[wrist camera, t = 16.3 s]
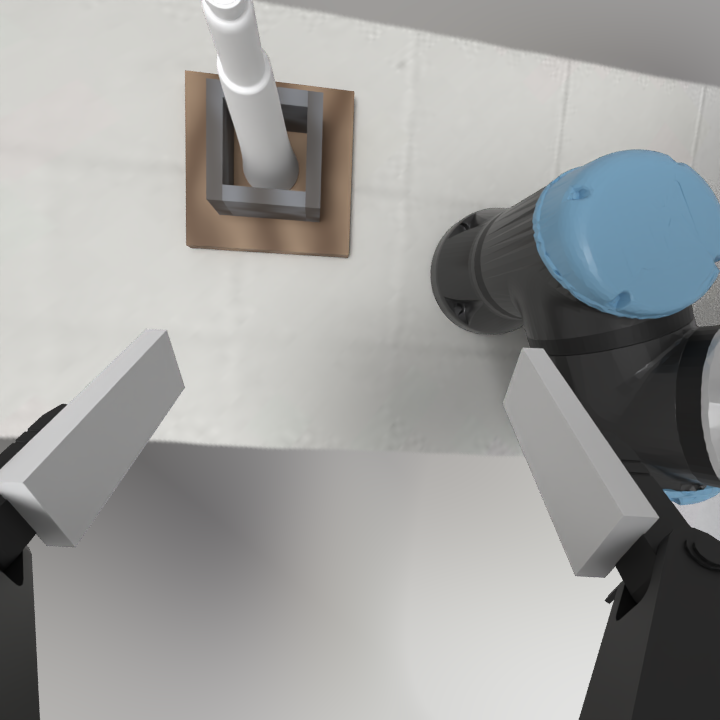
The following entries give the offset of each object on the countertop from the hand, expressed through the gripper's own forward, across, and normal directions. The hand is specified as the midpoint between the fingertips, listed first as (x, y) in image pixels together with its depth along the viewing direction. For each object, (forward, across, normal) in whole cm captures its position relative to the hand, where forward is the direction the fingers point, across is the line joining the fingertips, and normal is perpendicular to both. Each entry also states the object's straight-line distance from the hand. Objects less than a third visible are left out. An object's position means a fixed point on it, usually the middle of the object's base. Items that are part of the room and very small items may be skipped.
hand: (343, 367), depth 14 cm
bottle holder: (+35, -11, +2) cm, 37 cm away
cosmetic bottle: (+34, -11, +2) cm, 35 cm away
